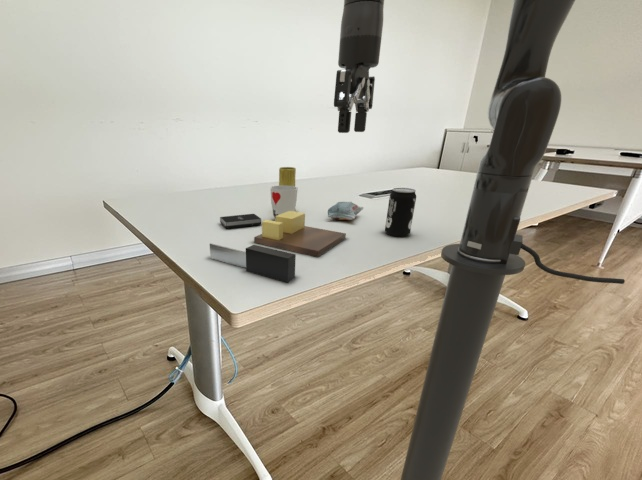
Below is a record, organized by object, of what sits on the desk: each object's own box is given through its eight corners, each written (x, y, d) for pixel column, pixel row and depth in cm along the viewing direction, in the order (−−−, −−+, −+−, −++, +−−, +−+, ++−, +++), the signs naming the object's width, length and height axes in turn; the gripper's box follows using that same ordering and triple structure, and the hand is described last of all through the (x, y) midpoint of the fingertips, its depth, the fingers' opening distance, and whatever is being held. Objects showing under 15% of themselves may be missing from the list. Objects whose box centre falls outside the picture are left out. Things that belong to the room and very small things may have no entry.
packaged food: (362, 215, 112) (363, 200, 110) (353, 224, 102) (355, 208, 100) (336, 213, 115) (337, 198, 113) (325, 221, 105) (326, 205, 103)
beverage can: (405, 239, 90) (412, 192, 85) (380, 234, 94) (387, 189, 89) (412, 233, 95) (420, 189, 90) (389, 229, 98) (395, 186, 93)
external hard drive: (219, 223, 103) (219, 217, 102) (254, 219, 107) (254, 213, 106) (226, 229, 97) (225, 222, 96) (262, 225, 101) (262, 219, 100)
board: (345, 238, 90) (346, 233, 89) (317, 257, 78) (318, 250, 77) (287, 227, 99) (287, 222, 98) (254, 242, 87) (254, 237, 86)
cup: (266, 218, 108) (266, 186, 104) (290, 216, 111) (291, 184, 107) (275, 225, 101) (275, 190, 97) (300, 222, 104) (302, 189, 100)
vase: (276, 209, 119) (277, 166, 113) (294, 209, 119) (295, 166, 113) (278, 214, 113) (279, 169, 107) (296, 213, 114) (298, 169, 108)
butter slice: (283, 238, 86) (283, 222, 84) (278, 240, 84) (278, 224, 82) (266, 234, 88) (266, 219, 86) (262, 236, 86) (261, 221, 85)
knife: (295, 277, 68) (295, 254, 66) (287, 282, 66) (288, 258, 63) (215, 256, 78) (213, 235, 76) (206, 260, 76) (205, 238, 74)
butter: (304, 227, 94) (305, 213, 92) (291, 233, 89) (291, 218, 87) (289, 224, 97) (289, 210, 95) (275, 230, 91) (275, 216, 90)
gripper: (367, 26, 56) (356, 133, 63) (392, 41, 67) (380, 131, 74) (325, 32, 60) (319, 132, 67) (355, 45, 71) (348, 131, 77)
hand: (351, 132), depth 70 cm, fingers open, 8 cm apart
